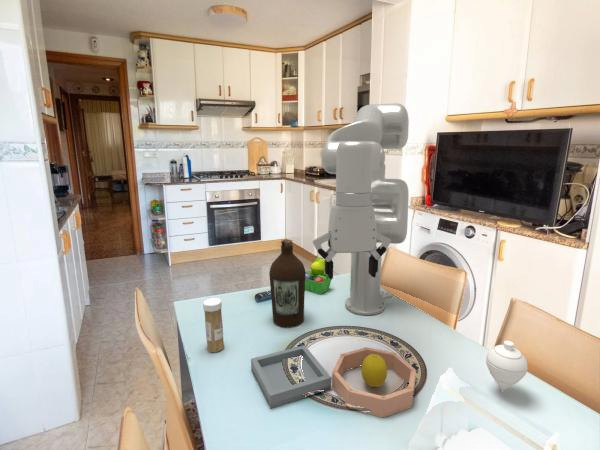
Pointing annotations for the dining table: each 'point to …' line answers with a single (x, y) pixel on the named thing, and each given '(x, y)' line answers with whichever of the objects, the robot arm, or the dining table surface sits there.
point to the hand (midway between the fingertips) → (351, 276)
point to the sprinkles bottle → (213, 324)
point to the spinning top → (506, 365)
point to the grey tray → (278, 384)
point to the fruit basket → (317, 277)
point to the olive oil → (287, 287)
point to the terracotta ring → (374, 402)
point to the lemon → (374, 370)
